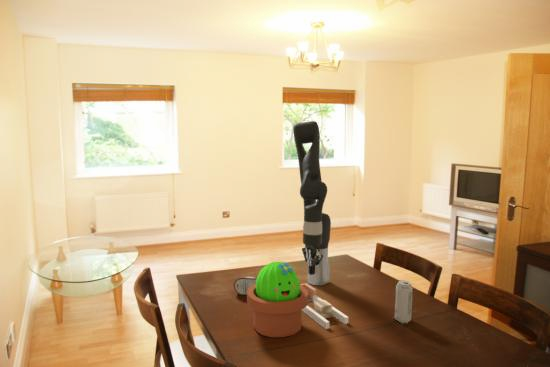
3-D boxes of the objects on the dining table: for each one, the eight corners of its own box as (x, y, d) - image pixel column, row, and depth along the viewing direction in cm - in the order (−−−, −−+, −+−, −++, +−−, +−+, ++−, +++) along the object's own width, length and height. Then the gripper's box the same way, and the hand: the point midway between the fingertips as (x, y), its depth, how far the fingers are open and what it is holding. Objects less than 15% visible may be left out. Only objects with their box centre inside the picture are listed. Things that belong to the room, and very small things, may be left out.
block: (324, 312, 171) (324, 300, 170) (331, 317, 166) (331, 304, 166) (313, 314, 169) (313, 302, 168) (320, 319, 164) (320, 307, 164)
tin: (268, 294, 188) (268, 275, 187) (267, 297, 185) (267, 278, 184) (234, 292, 190) (234, 274, 189) (233, 295, 187) (233, 276, 186)
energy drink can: (396, 315, 168) (398, 278, 165) (412, 319, 165) (414, 281, 163) (392, 322, 162) (394, 283, 160) (409, 325, 159) (411, 286, 157)
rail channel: (306, 294, 188) (306, 283, 188) (348, 323, 161) (348, 310, 160) (286, 298, 184) (286, 286, 183) (325, 329, 156) (326, 316, 156)
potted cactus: (240, 318, 165) (239, 255, 161) (293, 310, 172) (293, 249, 169) (258, 346, 144) (258, 274, 141) (317, 335, 152) (318, 267, 149)
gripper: (329, 234, 166) (328, 278, 168) (312, 227, 178) (311, 267, 180) (313, 236, 163) (311, 280, 165) (296, 229, 175) (295, 270, 177)
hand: (311, 273), depth 173 cm, fingers closed
